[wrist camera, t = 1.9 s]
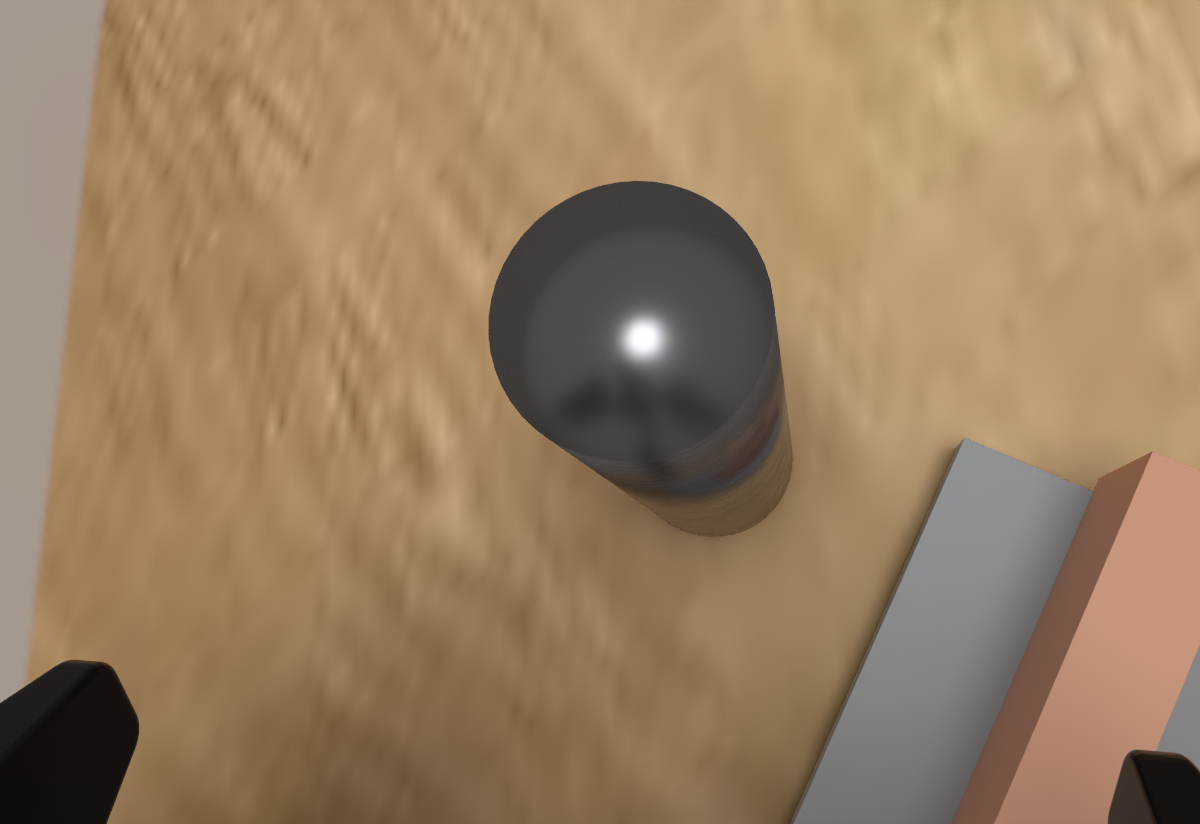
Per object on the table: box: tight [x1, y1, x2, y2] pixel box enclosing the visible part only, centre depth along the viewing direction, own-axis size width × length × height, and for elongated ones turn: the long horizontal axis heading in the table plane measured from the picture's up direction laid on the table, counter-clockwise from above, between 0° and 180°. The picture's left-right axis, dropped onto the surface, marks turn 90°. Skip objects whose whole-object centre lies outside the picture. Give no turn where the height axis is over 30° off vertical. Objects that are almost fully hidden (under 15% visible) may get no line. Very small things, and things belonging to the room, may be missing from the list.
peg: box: [489, 181, 792, 537], centre depth 16 cm, size 3×3×10 cm
